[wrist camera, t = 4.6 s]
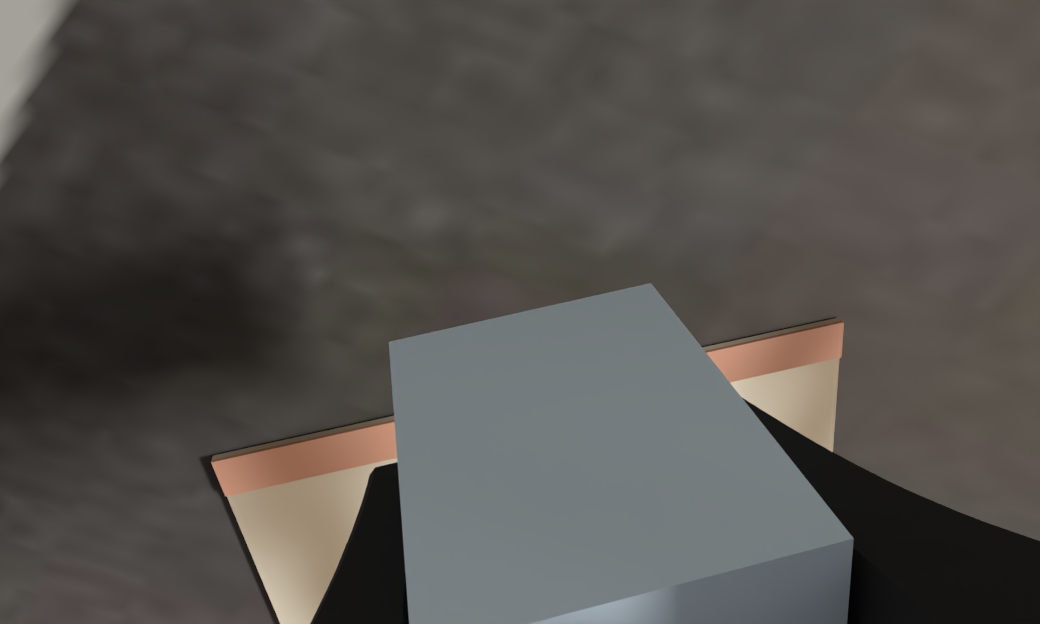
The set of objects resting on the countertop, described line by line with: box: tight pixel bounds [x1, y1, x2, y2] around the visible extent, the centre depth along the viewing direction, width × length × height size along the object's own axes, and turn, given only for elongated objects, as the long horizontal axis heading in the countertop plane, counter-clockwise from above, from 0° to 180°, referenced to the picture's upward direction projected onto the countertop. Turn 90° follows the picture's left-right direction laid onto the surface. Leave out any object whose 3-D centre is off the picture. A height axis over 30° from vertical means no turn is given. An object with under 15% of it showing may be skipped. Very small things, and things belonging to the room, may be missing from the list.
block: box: [389, 283, 854, 624], centre depth 11 cm, size 4×4×6 cm
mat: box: [211, 318, 844, 624], centre depth 24 cm, size 18×12×1 cm, turn 98°
